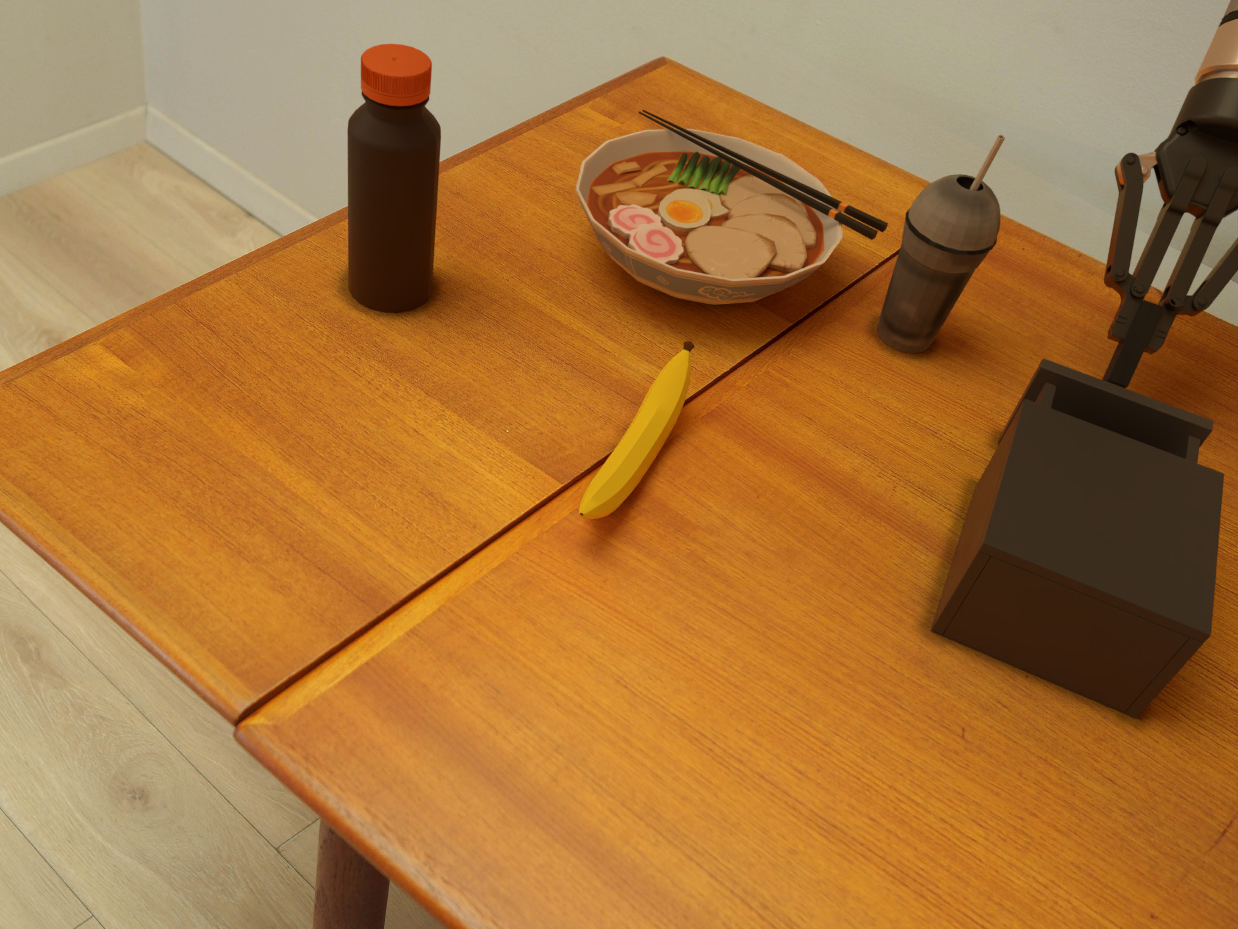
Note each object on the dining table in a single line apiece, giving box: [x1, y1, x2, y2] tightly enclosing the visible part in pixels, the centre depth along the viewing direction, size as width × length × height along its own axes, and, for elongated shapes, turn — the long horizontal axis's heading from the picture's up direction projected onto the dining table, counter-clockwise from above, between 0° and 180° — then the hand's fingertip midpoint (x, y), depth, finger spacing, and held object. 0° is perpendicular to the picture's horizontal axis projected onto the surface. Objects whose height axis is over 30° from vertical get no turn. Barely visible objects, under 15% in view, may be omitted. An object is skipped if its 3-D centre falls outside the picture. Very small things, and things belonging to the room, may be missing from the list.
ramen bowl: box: [575, 109, 889, 306], centre depth 100 cm, size 25×23×8 cm
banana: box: [578, 340, 695, 520], centre depth 82 cm, size 3×19×6 cm, turn 155°
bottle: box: [347, 43, 442, 314], centre depth 88 cm, size 7×7×20 cm
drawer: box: [997, 357, 1214, 464], centre depth 84 cm, size 19×12×8 cm, turn 155°
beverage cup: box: [876, 134, 1006, 354], centre depth 92 cm, size 7×7×20 cm
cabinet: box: [930, 399, 1225, 720], centre depth 78 cm, size 16×14×10 cm
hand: (1113, 385), depth 89 cm, fingers closed
